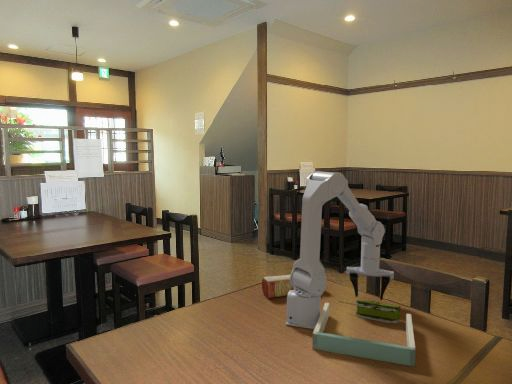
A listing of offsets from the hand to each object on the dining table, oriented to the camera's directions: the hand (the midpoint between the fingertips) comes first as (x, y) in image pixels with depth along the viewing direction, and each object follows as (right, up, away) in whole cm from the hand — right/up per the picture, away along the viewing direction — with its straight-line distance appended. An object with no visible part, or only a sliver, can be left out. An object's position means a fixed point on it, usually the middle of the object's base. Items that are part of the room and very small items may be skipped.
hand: (368, 297), depth 122 cm
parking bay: (-8, -4, -23) cm, 24 cm away
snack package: (-24, -1, +8) cm, 25 cm away
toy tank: (-3, -3, -9) cm, 10 cm away
